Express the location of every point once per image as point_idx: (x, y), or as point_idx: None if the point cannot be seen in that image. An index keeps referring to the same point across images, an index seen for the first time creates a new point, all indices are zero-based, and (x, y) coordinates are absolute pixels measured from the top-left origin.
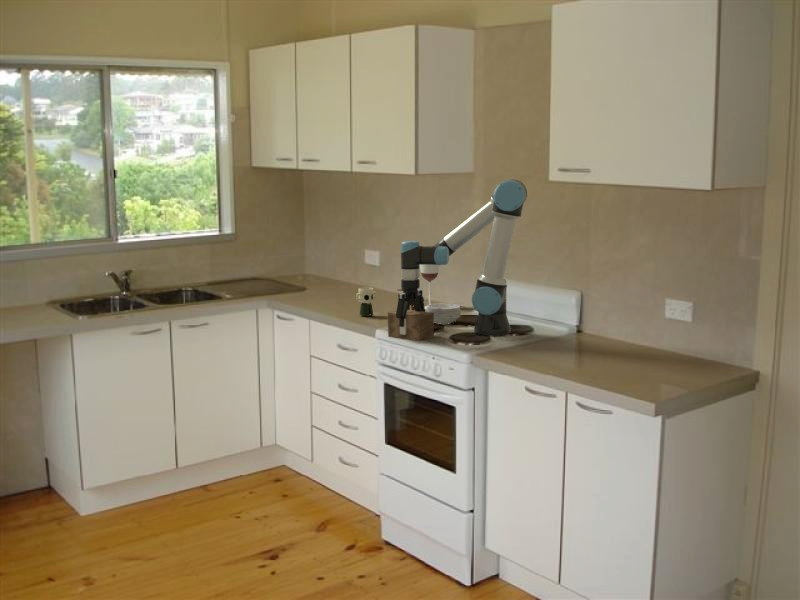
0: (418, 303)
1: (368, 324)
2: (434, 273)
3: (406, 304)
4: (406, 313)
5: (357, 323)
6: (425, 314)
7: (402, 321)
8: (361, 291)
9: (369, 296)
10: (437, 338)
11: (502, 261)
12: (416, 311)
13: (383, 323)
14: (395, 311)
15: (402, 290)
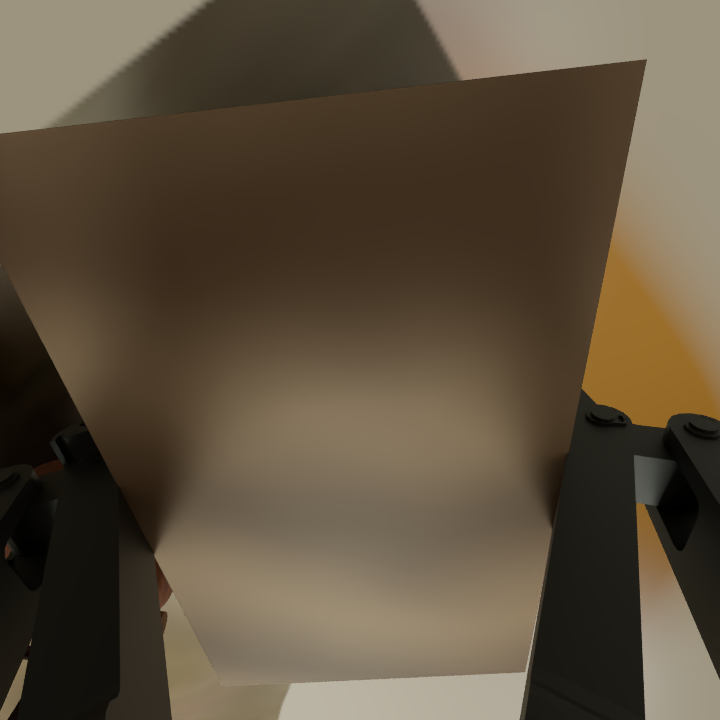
0: (64, 649)
1: (252, 686)
2: None
3: (640, 689)
4: (460, 504)
5: (274, 716)
6: (318, 112)
7: (584, 397)
8: None
9: None
10: (238, 23)
11: None
12: (194, 503)
13: (174, 664)
14: (406, 660)
15: None
